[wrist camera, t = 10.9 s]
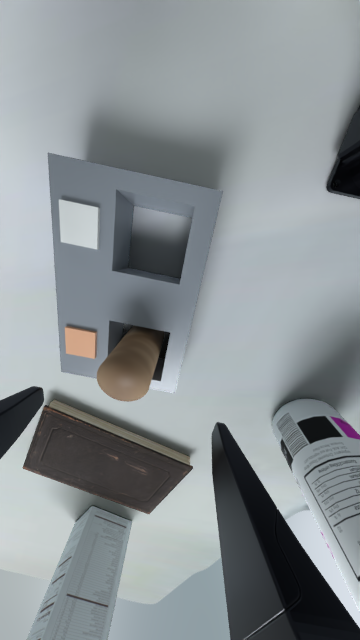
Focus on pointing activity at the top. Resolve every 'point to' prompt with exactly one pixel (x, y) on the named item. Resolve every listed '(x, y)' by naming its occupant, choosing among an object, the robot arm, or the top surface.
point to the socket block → (121, 263)
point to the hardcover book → (103, 458)
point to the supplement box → (85, 580)
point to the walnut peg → (131, 364)
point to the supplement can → (326, 477)
